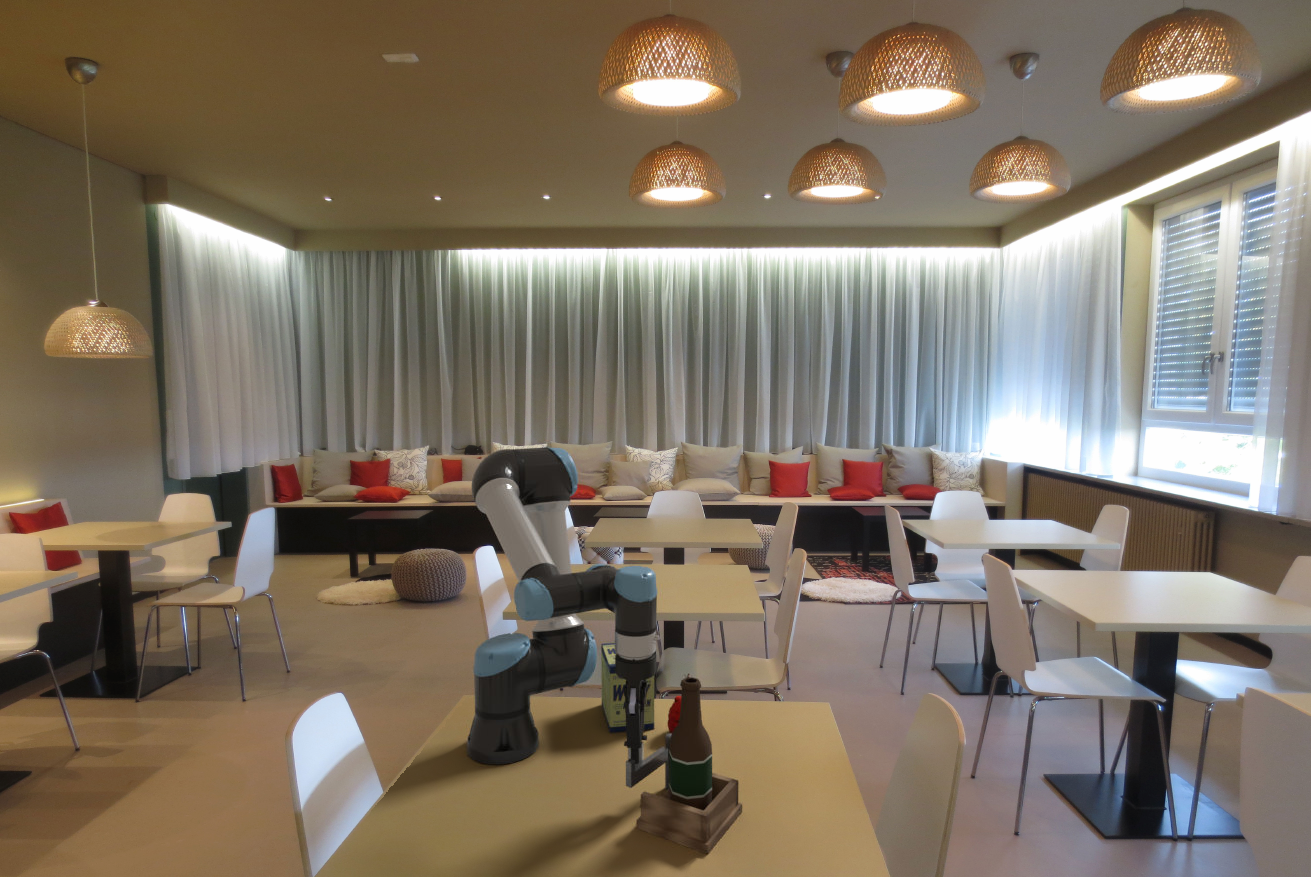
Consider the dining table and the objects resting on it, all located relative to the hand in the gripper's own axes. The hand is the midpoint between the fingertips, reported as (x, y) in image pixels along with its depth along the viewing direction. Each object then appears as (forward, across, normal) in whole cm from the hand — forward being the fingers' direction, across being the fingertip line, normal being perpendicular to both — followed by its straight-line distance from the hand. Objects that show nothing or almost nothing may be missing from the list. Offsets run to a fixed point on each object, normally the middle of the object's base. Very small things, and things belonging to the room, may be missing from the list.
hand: (635, 777), depth 133 cm
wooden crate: (+5, -3, -10) cm, 11 cm away
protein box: (+6, +36, +6) cm, 37 cm away
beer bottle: (+4, -4, -10) cm, 12 cm away
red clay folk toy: (+6, +28, -8) cm, 30 cm away
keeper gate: (-1, -1, -2) cm, 3 cm away
